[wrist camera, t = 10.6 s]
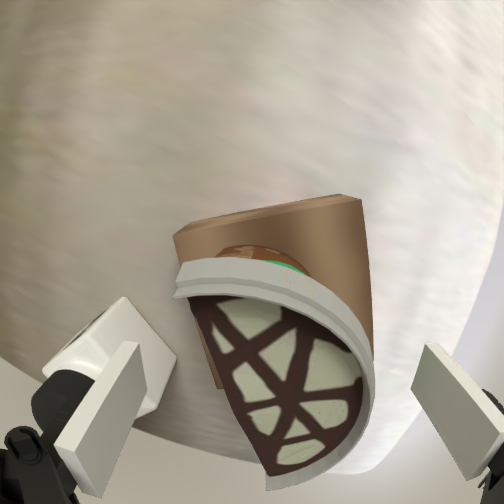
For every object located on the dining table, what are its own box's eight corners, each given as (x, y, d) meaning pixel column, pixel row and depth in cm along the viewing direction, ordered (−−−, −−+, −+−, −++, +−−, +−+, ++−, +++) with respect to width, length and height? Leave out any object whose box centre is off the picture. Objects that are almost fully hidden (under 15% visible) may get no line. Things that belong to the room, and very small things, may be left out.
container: (78, 331, 27) (6, 406, 15) (125, 293, 26) (47, 373, 14) (127, 386, 29) (79, 476, 16) (179, 357, 28) (138, 461, 15)
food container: (351, 364, 21) (388, 469, 11) (270, 384, 22) (268, 495, 12) (315, 197, 18) (365, 227, 9) (217, 225, 19) (166, 281, 9)
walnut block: (224, 349, 28) (217, 389, 22) (191, 221, 25) (172, 235, 19) (353, 325, 27) (373, 360, 21) (337, 193, 24) (361, 199, 18)
